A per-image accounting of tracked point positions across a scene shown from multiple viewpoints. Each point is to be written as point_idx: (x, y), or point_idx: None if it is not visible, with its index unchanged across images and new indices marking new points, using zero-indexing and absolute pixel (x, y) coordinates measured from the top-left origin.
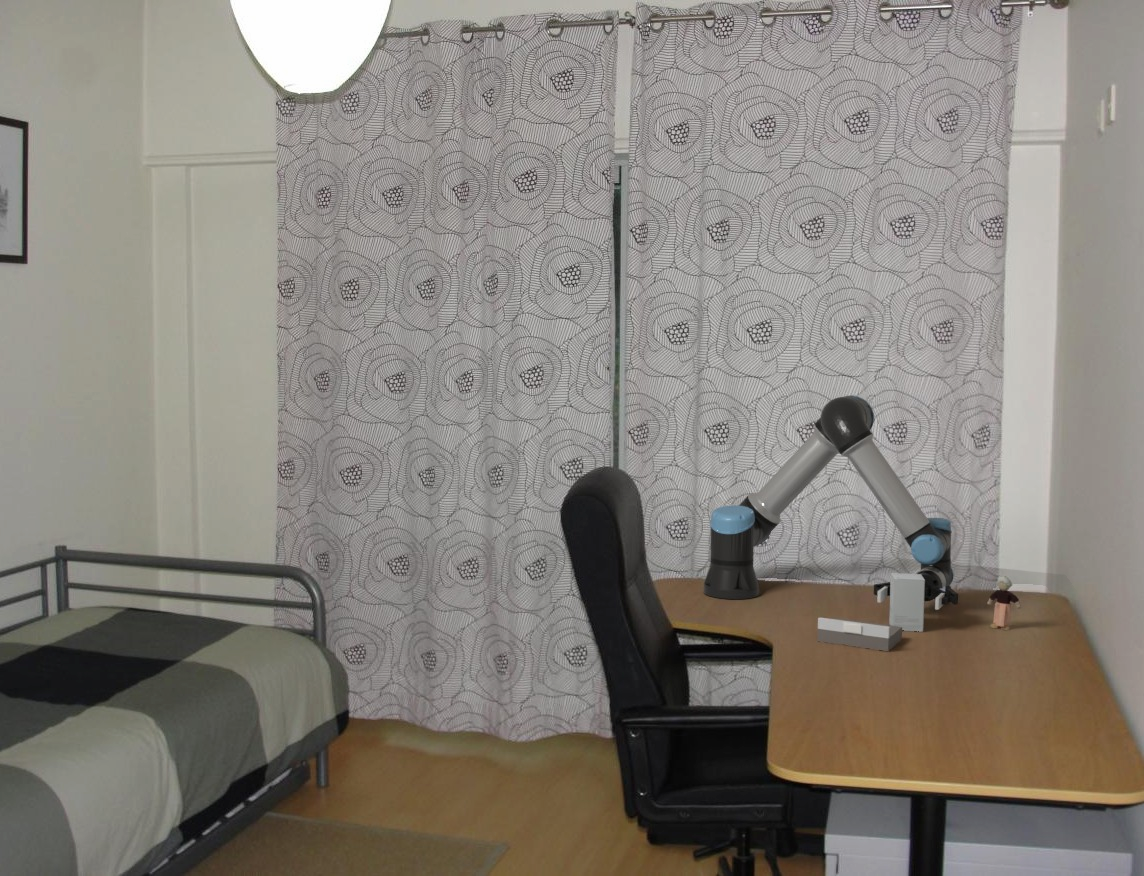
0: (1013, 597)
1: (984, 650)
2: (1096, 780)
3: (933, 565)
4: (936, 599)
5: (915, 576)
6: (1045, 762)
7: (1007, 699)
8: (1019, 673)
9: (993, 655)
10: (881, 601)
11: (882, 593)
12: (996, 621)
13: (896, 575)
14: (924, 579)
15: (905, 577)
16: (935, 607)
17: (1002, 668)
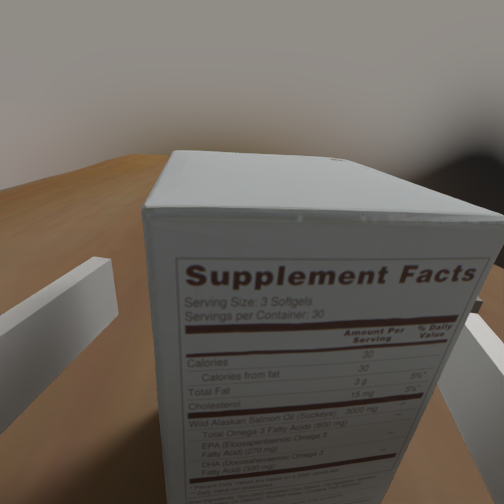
0: None
1: (55, 274)
2: (145, 156)
3: None
4: (106, 264)
5: (230, 163)
6: (163, 160)
7: (143, 185)
8: (76, 213)
9: (58, 255)
10: (441, 389)
11: (471, 366)
12: None
13: (380, 175)
14: (172, 152)
15: (297, 159)
16: (115, 306)
17: (91, 221)
